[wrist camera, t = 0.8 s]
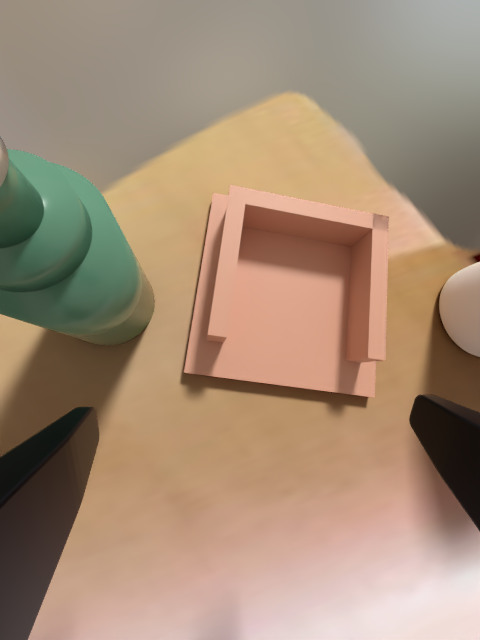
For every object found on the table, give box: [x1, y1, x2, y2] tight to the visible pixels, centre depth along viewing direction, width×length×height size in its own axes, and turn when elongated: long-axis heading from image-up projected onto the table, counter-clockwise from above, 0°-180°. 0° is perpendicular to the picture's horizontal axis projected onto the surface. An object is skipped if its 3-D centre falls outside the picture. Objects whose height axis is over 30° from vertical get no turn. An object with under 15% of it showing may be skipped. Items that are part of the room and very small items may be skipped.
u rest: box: [184, 185, 389, 397], centre depth 21 cm, size 14×14×4 cm
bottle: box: [0, 137, 155, 346], centre depth 14 cm, size 6×6×15 cm
